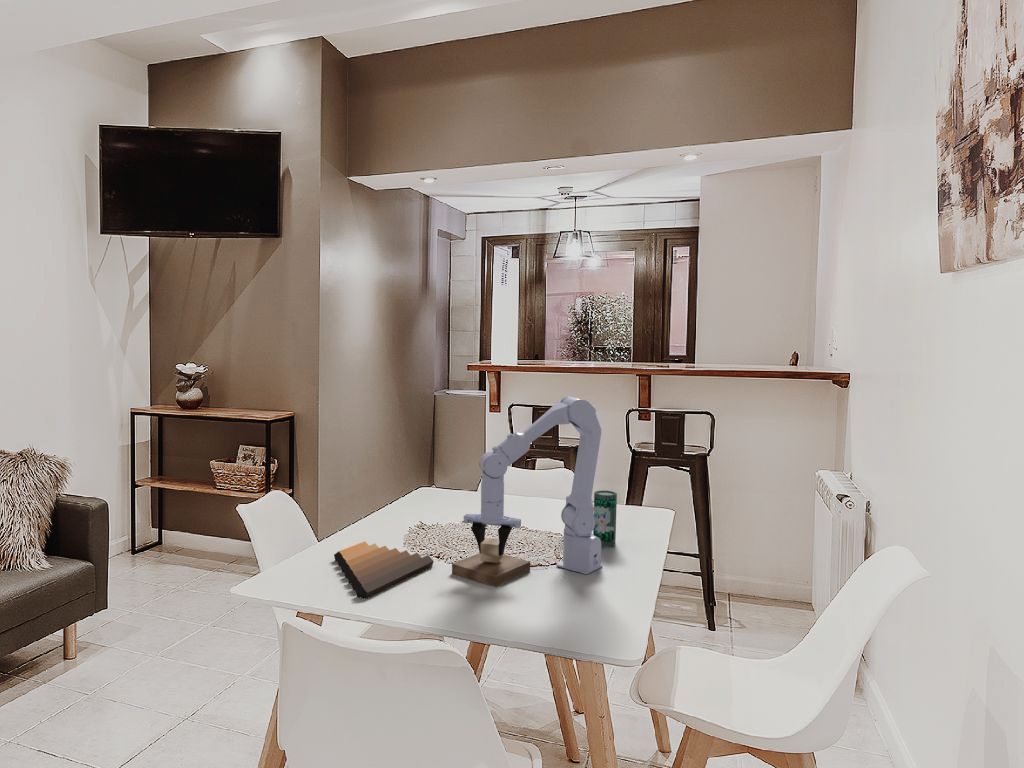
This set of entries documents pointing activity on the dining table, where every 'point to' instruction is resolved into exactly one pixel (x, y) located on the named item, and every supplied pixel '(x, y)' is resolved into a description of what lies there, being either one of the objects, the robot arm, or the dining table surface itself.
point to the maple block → (490, 550)
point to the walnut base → (491, 569)
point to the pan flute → (378, 567)
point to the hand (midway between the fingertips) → (491, 553)
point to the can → (605, 517)
